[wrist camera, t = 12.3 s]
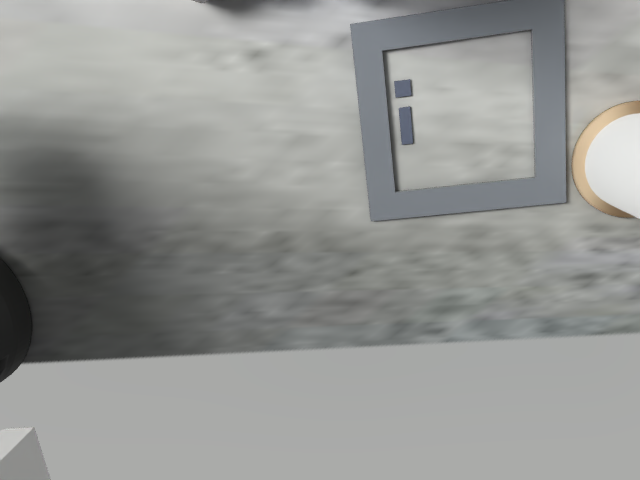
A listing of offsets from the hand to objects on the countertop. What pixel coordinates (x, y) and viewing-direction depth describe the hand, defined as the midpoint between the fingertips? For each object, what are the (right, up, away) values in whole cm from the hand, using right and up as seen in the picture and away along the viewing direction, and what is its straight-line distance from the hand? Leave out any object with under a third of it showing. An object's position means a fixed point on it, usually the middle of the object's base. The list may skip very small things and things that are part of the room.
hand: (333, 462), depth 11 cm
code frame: (+10, +14, +26) cm, 31 cm away
